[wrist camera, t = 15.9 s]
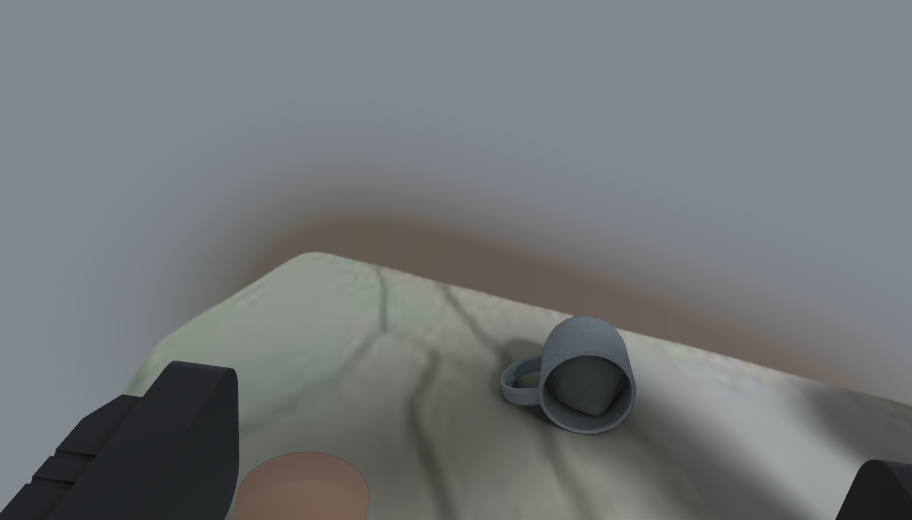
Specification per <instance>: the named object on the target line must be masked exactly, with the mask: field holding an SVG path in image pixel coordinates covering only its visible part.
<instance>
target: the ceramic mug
mask: <svg viewBox="0 0 912 520" xmlns="http://www.w3.org/2000/svg"><path fill="white" fill-rule="evenodd" d="M540 370H541V371H540ZM535 371H540V378H539V385H538V387H535V388H530V389H529V388H522V389H519V388H512V386H513V384H514V382H515V381H516V379H517V378H519V377H521V376H523V375H526V374H529V373H532V372H535ZM500 386H501V389H502V391H503V394H504V397H505V399H506V400H507V401H509V402H510V403H512V404H515V405H521V406H530V405H541V407H542V410H543V411H544V412H545V414H546V415H547V417H548V418H549V419H550V420H551V421H552V422H554V423H555V424H556V425H558V426H559V427H562V428H564V429H566V430H568V431H571V432H575V433H581V434H596V433H601V432H604V431H607V430H610V429H612V428H614V427H615V426H617V425H619V424H620V423H621V422H622V421H623V420H624V419H625V418H626V417H627V415H628V414H629V412H630V411H631V409H632V407H633V404H634V401H635V396H636V385H635V381H634V377H633V373H632V369H631V365H630V361H629V358H628V354H627V349H626V346H625V343H624V341H623V339H622V337H621V336H620V335H619V333H618V332H617V330H616V329H615V328H614V327H613V326H612V325H610V324H609V323H608V322H606V321H604V320H602V319H599V318H597V317H593V316H575V317H572V318H569V319H566V320H565V321H563V322H561V323H560V324H558V325H557V326H556V327H555V328H554V329H553V330H552V332H551V333H550V335H549V337H548V338H547V340H546V342H545V346H544V349H543V354H541V355H536V356H532V357H527V358H524V359H522V360H519V361H517V362H515V363H513V364H512V365H510V366H509V367H508V368H507V369H506V370H505V371H504V373H503V374H502V376H501V380H500Z"/></svg>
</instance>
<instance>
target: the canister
mask: <svg viewBox="0 0 912 520" xmlns="http://www.w3.org/2000/svg"><path fill="white" fill-rule="evenodd" d="M368 500H369V493H368V488H367V484H366V482H365V480H364V478H363V477H362V475H361V474H360V473H359V471H358V470H357V469H356V468H354V467H353V466H352V465H351V464H349V463H348V462H346V461H344V460H342V459H340V458H338V457H335V456H332V455H328V454H324V453H318V452H296V453H289V454H285V455H281V456H277V457H275V458H272V459H270V460H268V461H266V462H264V463H262V464H261V465H259V466H257V467H256V468H255V469H254V470H252V471H251V472H250V473H249V474H248V475H247V476H246V477H245V479H244V480H243V481H242V483H241V485H240V487H239V489H238V492H237V495H236V520H367V512H368Z"/></svg>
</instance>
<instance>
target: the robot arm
mask: <svg viewBox="0 0 912 520" xmlns="http://www.w3.org/2000/svg"><path fill="white" fill-rule="evenodd" d="M238 470H239V422H238V379H237V374H236V372H235V370H234V369H233V368H226V367H218V366H211V365H204V364H197V363H190V362H182V361H172V362H171V363H169V364H168V365H167V367H166V368H165V369H164V370H163V371H162V373H161V374H160V375H159V377H158V378H157V379H156V380H155V382H154V383H153V384H152V386H151V387H150V388H149V389H148V391H147V392H146V393H145V394H144V396H143V397H137V396H129V395H121V396H119V397H117V398H116V399H114V400H112V401H111V402H109V403H107V404H106V405H104V406H102V407H101V408H99V409H98V410H96V411H94V412H93V413H91V414H89V415H88V416H86V417H84V418H83V419H82V420H81V421H80V422H79V423H78V425H77V426H76V427H75V428H74V429H73V430H72V431H71V433H70V434H69V435H68V436H67V437H66V438H65V440H64V441H63V442H62V443H61V444H60V445H59V446H58V448H57V449H56V452H55V455H54V456H50V457H49V458H48V459H47V460H46V461H45V462H44V464H43V465H42V466H41V467H40V468H39V469H38V471H37V472H36V473H35V474H34V475H33V476H32V482H31V483H30V484H27V483H26V484H25V485H24V487H23V488H22V489H21V490H20V491H19V492H18V494H17V495H16V496H15V497H14V498H13V499H12V500H11V501H10V503H9V504H8V505H7V506H6V507H5V508H4V509H3V511H2V512H1V513H0V520H224V519H225V517H226V515H227V512H228V510H229V508H230V505H231V502H232V499H233V496H234V492H235V488H236V483H237V478H238ZM835 520H912V465H911V464H904V463H896V462H889V461H882V460H875V459H874V460H869V461H867V462H866V463H864V464H863V465H862V466H861V468H860V469H859V471H858V472H857V474H856V476H855V479H854V481H853V483H852V485H851V487H850V489H849V491H848V494H847V496H846V498H845V500H844V502H843V504H842V507H841V509H840V511H839V513H838V515H837V517H836V519H835Z"/></svg>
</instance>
